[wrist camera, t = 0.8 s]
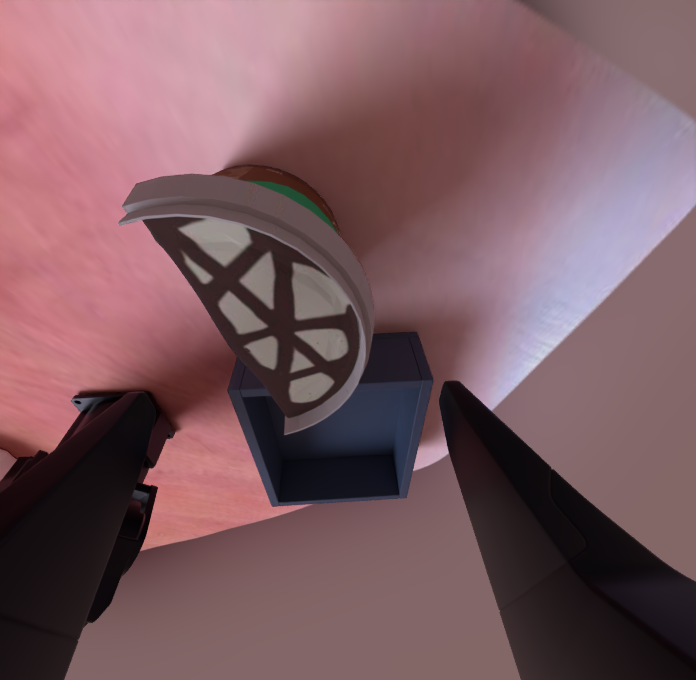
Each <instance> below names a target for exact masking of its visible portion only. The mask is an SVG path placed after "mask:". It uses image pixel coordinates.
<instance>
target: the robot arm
mask: <svg viewBox="0 0 696 680" xmlns="http://www.w3.org/2000/svg"><path fill="white" fill-rule="evenodd" d="M71 402H72V403H73V404H74V406H75V407H76V408H77V409H78V410H79V411H80V412H81V413H80V414H79V416H78V417H77V419H76V420H75V422H74V423H73V424H72V426H71V427H70V429H69V430H68V432H67V433H66V434H65V436H64V437H63V439H62V440H61V442H60V443H59V444H58V446H57V447H56V449H55V450H54V451H53V452H51V453H50V454H48V452H45V451H41V450H39V451H38V453H37V454H36V455H35V456H34V457H32V456H30V457H19V458H18V459H17V461H16V462H15V463H14V464H13V466H12V467H11V468H10V470H9V471H8V472H7V473H6V475H5V476H4V477H3V479H2V480H1V481H0V680H64V679H65V676H66V673H67V671H68V668H69V665H70V662H71V660H72V657H73V654H74V652H75V649H76V646H77V644H78V639H79V638H80V635H81V632H82V630H83V628H84V627H85V626H86V625H87V624H88V623H93V622H94V621H95V620H97V619H98V618H99V616H100V615H101V614H102V613H103V612H104V611H105V609H106V608H107V607H108V606H109V605H110V604H111V601H112V599H113V596H114V594H115V591H116V588H117V586H118V583H119V580H120V578H121V577H122V576H123V575H124V574H125V573H126V572H127V571H128V570H129V568H130V567H131V565H132V564H133V562H134V560H135V559H136V557H137V555H138V553H139V551H140V549H141V547H142V545H143V542H144V540H145V537H146V534H147V530H148V526H149V522H150V518H151V514H152V510H153V506H154V502H155V497H156V493H157V489H158V487H157V486H153V485H151V486H149V485H146V484H143V482H144V479H145V477H146V475H147V473H148V470H149V468H154V466H155V465H156V463H157V461H158V458H159V456H160V454H161V451H162V449H163V446H164V444H165V442H166V439H170V438H173V436H174V434H175V432H174V430H173V429H172V427H171V425H170V424H169V422H168V420H167V419H166V417H165V416H164V414H163V412H162V411H161V409H160V408H159V406H158V404H157V403H156V401H155V399H154V398H153V396H152V395H151V394H150V393H148V392H124V393H105V394H85V395H75V396H74V397H73V398H72V400H71ZM439 405H440V411H441V416H442V421H443V426H444V431H445V436H446V441H447V446H448V451H449V454H450V457H451V461H452V464H453V467H454V470H455V473H456V476H457V479H458V483H459V486H460V489H461V492H462V495H463V498H464V501H465V504H466V508H467V511H468V514H469V517H470V520H471V523H472V526H473V530H474V533H475V536H476V539H477V542H478V545H479V549H480V552H481V555H482V558H483V561H484V564H485V567H486V571H487V574H488V577H489V580H490V583H491V586H492V589H493V593H494V595H495V599H496V602H497V605H498V608H499V610H500V615H501V618H502V621H503V625H504V628H505V631H506V634H507V637H508V640H509V643H510V647H511V649H512V652H513V656H514V659H515V662H516V665H517V669H518V672H519V675H520V678H521V680H696V582H695V581H694V580H692V579H690V578H688V577H686V576H685V575H683V574H681V573H680V572H678V571H676V570H675V569H673V568H672V567H670V566H669V565H668V564H666V563H665V562H663V561H662V560H661V559H659V558H658V557H657V556H655V555H654V554H653V553H652V552H651V551H649V550H648V549H647V548H646V547H644V546H643V545H642V544H640V543H639V542H638V541H637V540H636V539H635V538H633V537H632V536H631V535H629V534H628V533H627V532H626V531H625V530H623V529H622V528H621V527H620V526H618V525H617V524H616V523H615V522H613V521H612V520H611V519H610V518H608V517H607V516H606V515H605V514H604V513H602V512H601V511H600V510H599V509H598V508H596V507H595V506H594V505H593V504H592V503H590V502H589V501H588V500H587V499H586V498H584V497H583V496H582V495H581V494H580V493H579V492H578V491H577V490H576V489H574V488H573V487H572V486H571V485H570V484H569V483H568V482H567V481H566V480H564V479H563V478H562V477H561V476H560V475H559V474H558V473H557V472H556V471H555V470H553V469H552V470H551V467H550V466H549V465H548V464H547V463H546V462H545V461H544V460H543V459H542V458H541V457H540V456H539V455H538V454H536V453H535V452H534V451H533V450H532V449H531V448H530V447H529V446H528V445H527V444H526V443H525V442H524V441H523V440H521V439H520V438H519V437H518V436H517V435H516V434H515V433H514V432H513V431H512V430H511V429H510V428H509V427H508V426H507V425H505V424H504V423H503V422H502V421H501V420H500V419H499V418H498V417H497V416H496V415H495V414H494V413H493V412H492V411H491V410H489V409H488V408H487V407H486V406H485V405H484V404H483V403H482V402H481V401H480V400H479V399H478V398H477V397H476V396H474V395H473V394H472V393H471V392H470V391H469V390H468V389H467V388H466V387H465V386H464V385H463V384H462V383H461V382H459V381H457V380H453V381H445V382H444V384H443V387H442V391H441V394H440V397H439Z"/></svg>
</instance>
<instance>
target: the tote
mask: <svg viewBox="0 0 696 680" xmlns="http://www.w3.org/2000/svg"><path fill="white" fill-rule="evenodd" d="M432 385H433V377H432V374H431V371H430V368H429V365H428V362H427V359H426V357H425V354H424V351H423V348H422V345H421V342H420V339H419V336H418V333H417V332H409V333H388V334H373V337H372V343H371V349H370V354H369V360H368V363H367V365H366V367H365V370H364V372H363V375H362V376H361V378H360V380H359V383H358V385H357V386H356V388H355V390H354V391H353V393H352V394H351V396H350V397H349V398H348V399H347V400H346V402H345V403H344V404H343V405H342V406H341V407H340V408H339V409H337V410H336V411H335V412H334V413H332V414H331V415H330V416H328V417H327V418H325V419H324V420H322V421H320V422H318V423H317V424H315V425H313V426H310V427H308V428H305V429H303V430H301V431H298V432H294V433H291V434H287V435H284V428H285V414H284V413H283V411H282V410H281V408H280V407H279V406H278V404H277V403H276V401H275V400H274V399H273V397H272V396H271V395H270V393H269V392H268V391H267V389H266V388H265V386H264V385H263V384H262V382H261V381H260V380H259V379H258V378H257V377H256V376H255V375H254V374H253V372H252V371H251V370H250V369H249V368H248V367H247V366H246V365H245V364H244V363H243V362H242V361H241V360H240V359H239V357H237V360H236V363H235V367H234V370H233V373H232V377H231V380H230V383H229V387H228V390H227V391H228V393H229V396H230V399H231V401H232V404H233V406H234V409H235V412H236V414H237V417H238V419H239V422H240V425H241V427H242V430H243V432H244V435H245V438H246V440H247V443H248V445H249V448H250V451H251V453H252V456H253V458H254V461H255V464H256V466H257V469H258V471H259V474H260V477H261V479H262V482H263V484H264V487H265V490H266V492H267V495H268V498H269V500H270V503H271V505H272V507H275V506H289V505H305V504H321V503H334V502H335V503H336V502H352V501H368V500H383V499H397V498H407V494H408V489H409V485H410V481H411V476H412V472H413V468H414V463H415V459H416V454H417V450H418V446H419V441H420V437H421V433H422V428H423V424H424V420H425V415H426V411H427V406H428V402H429V398H430V393H431V389H432Z"/></svg>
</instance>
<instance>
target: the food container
mask: <svg viewBox="0 0 696 680" xmlns="http://www.w3.org/2000/svg"><path fill="white" fill-rule="evenodd" d="M122 207H123V208H124V210H125V211H126V212H127V213H128V214H127V215H126V216H125V217H124V218H123V219H122V220H121V221H119V222H118V224H119V225H120V226H121V225H125V224H128V223H132V222H136V221H140V220H142V221H143V222H144V224H145V225H146V226H147V228H148V229H149V230H150V232H151V234H152V235H153V237H154V239H155V240H156V241H157V243H158V244H159V245H160V246H161V247H162V248H163V249H164V250H165V251H166V252H167V254H168V255H169V256H170V257H171V259H172V260H173V261H174V262H175V264H176V265H177V267H178V268H179V269H180V271H181V272H182V274H183V275H184V276H185V278H186V279H187V281H188V282H189V284H190V285H191V286H192V288H193V289H194V291H195V292H196V294H197V295H198V297H199V298H200V300H201V301H202V303H203V305H204V306H205V308H206V310H207V311H208V313H209V315H210V316H211V318H212V319H213V321H214V323H215V324H216V326H217V328H218V329H219V331H220V333H221V334H222V336H223V337H224V339H225V340H226V342H227V343H228V345H229V347H230V348H231V349H232V351H233V352H234V353H235V354H236V355H237V356H238V357H239V359H240V360H241V361H242V362H243V363H244V364H245V365H246V366H247V367H248V368H249V369H250V370H251V371H252V372H253V374H254V375H255V376H256V377H257V378H258V379H259V380H260V381H261V382H262V384H263V385H264V386H265V388H266V389H267V391H268V392H269V393H270V395H271V396H272V397H273V399H274V400H275V401H276V403H277V404H278V406H279V407H280V408H281V410H282V411H283V413H284V414H285V428H284V435H287V434H291V433H294V432H298V431H301V430H303V429H305V428H308V427H310V426H313V425H315V424H317V423H318V422H320V421H322V420H324V419H325V418H327V417H328V416H330V415H331V414H332V413H334V412H335V411H336V410H337V409H339V408H340V407H341V406H342V405H343V404H344V403H345V402H346V400H347V399H348V398H349V397H350V396H351V394H352V393H353V391H354V390H355V388H356V386H357V385H358V383H359V380H360V378H361V376H362V375H363V372H364V370H365V367H366V365H367V363H368V360H369V354H370V349H371V343H372V337H373V330H374V302H373V297H372V293H371V288H370V285H369V282H368V280H367V278H366V275H365V273H364V270H363V268H362V266H361V265H360V263H359V261H358V260H357V258H356V257H355V255H354V254H353V252H352V251H351V249H350V247H349V246H348V245H347V244H346V243H345V242H344V241H343V240H342V238H341V237H340V233H339V229H338V226H337V223H336V220H335V218H334V216H333V213H332V211H331V210H330V208H329V207H328V205H327V204H326V202H325V201H324V200H323V198H322V197H321V196H320V195H319V194H318V193H317V192H316V191H315V190H314V189H313V188H312V187H310V186H309V185H308V184H307V183H306V182H304V181H302V180H301V179H299V178H297V177H296V176H294V175H292V174H290V173H287V172H285V171H282V170H280V169H276V168H272V167H268V166H259V165H244V166H235V167H232V168H228V169H225V170H221V171H219V172H217V173H215V174H213V175H201V174H184V175H174V176H163V177H158V178H155V179H151V180H147V181H144V182H140V183H137V184H136V185H135V186H134V188H133V190H132V191H131V193H130V194H129V196H128V197H127V199H126V201H125V202H124V204H123V205H122Z"/></svg>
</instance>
